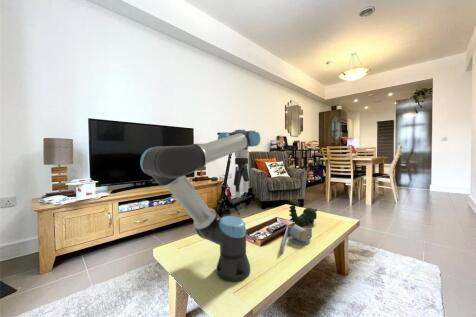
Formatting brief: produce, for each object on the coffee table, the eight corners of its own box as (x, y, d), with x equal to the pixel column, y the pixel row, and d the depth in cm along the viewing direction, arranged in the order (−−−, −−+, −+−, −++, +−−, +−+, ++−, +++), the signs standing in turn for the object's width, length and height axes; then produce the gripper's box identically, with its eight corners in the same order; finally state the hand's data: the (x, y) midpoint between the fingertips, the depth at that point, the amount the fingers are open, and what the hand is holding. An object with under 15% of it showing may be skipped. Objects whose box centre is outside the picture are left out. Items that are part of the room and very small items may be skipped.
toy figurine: (297, 232, 136) (323, 222, 147) (295, 204, 134) (321, 196, 146) (287, 227, 144) (312, 218, 156) (285, 201, 143) (311, 194, 154)
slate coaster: (310, 246, 112) (310, 245, 112) (287, 243, 116) (287, 242, 116) (310, 237, 124) (310, 236, 124) (289, 235, 128) (289, 234, 128)
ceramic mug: (300, 244, 114) (300, 230, 114) (289, 238, 121) (290, 226, 121) (313, 239, 119) (313, 227, 119) (302, 234, 126) (302, 222, 126)
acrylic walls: (312, 258, 101) (312, 248, 100) (282, 253, 106) (281, 244, 105) (311, 236, 125) (311, 228, 125) (287, 233, 130) (287, 225, 130)
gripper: (240, 158, 102) (241, 200, 103) (253, 156, 125) (254, 190, 126) (226, 158, 104) (227, 199, 105) (242, 156, 128) (242, 189, 129)
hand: (242, 194), depth 116 cm, fingers open, 13 cm apart
